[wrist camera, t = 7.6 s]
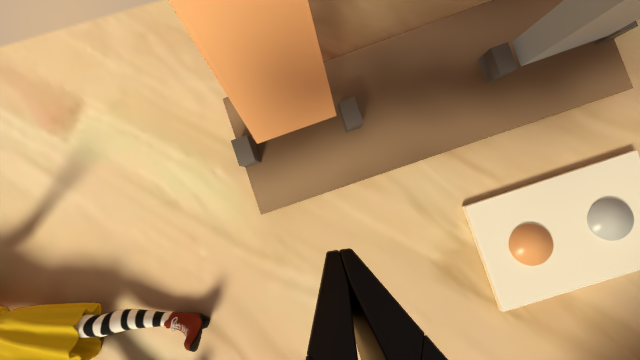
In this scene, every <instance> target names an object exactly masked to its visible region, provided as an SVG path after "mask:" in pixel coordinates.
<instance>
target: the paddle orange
mask: <svg viewBox="0 0 640 360" xmlns="http://www.w3.org/2000/svg"><path fill="white" fill-rule="evenodd" d="M168 1H169V3H170V4H171V6H172V7H173V9H174V11H175V12H176V14H177V15H178V17H179V19H180V20H181V22H182V23H183V25H184V27H185V28H186V30H187V32H188V33H189V35H190V36H191V38H192V40H193V41H194V43H195V44H196V46H197V48H198V49H199V51H200V52H201V54H202V56H203V57H204V59H205V61H206V62H207V64H208V65H209V67H210V69H211V70H212V72H213V73H214V75H215V77H216V78H217V80H218V81H219V83H220V85H221V86H222V88H223V90H224V91H225V93H226V94H227V96H228V98H229V99H230V101H231V102H232V104H233V106H234V107H235V109H236V110H237V112H238V114H239V115H240V117H241V119H242V120H243V122H244V123H245V125H246V127H247V128H248V130H249V131H250V133H251V135H252V136H253V138H254V139H255V141H256V143H257V144H258V143H261V142H264V141H267V140H270V139H272V138H275V137H278V136H281V135H284V134H287V133H289V132H292V131H295V130H298V129H301V128H304V127H306V126H309V125H312V124H315V123H318V122H320V121H323V120H326V119H329V118H332V117H335V116H337V115H336V111H335V107H334V103H333V99H332V95H331V91H330V87H329V83H328V79H327V75H326V71H325V67H324V63H323V59H322V55H321V51H320V47H319V43H318V39H317V35H316V31H315V27H314V23H313V19H312V15H311V11H310V7H309V3H308V0H168Z"/></svg>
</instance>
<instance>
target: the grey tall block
mask: <svg viewBox="0 0 640 360" xmlns="http://www.w3.org/2000/svg"><path fill="white" fill-rule="evenodd" d="M639 18H640V0H563V1H562V2H561V3H560V4H558V5H557V6H556V7H555V8H553V9H552V10H551V11H550V12H549V13H547V14H546V15H545V16H544V17H542V18H541V19H540V20H539V21H537V22H536V23H535V24H534V25H532V26H531V27H530V28H529V29H528V30H526V31H525V32H524V33H523V34H521V35H520V36H519V37H518V38H516V39H515V40H514V41H513V42H512V44H513V46H514V49H515V52H516V54H517V57H518V60H519V62H520V65H521V66H523V65H526V64H529V63H532V62H535V61H538V60H541V59H543V58H546V57H549V56H552V55H555V54H558V53H560V52H563V51H566V50H569V49H572V48H575V47H578V46H580V45H583V44H586V43H589V42H592V41H595V40H597V39H600V38H603V37H606V36H608V35H610V34H612V33H614V32H616V31H618V30H619V29H621V28H623V27H625V26H627V25H629V24H630V23H632V22H634V21H636V20H638V19H639Z"/></svg>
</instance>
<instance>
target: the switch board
mask: <svg viewBox="0 0 640 360" xmlns="http://www.w3.org/2000/svg"><path fill="white" fill-rule="evenodd" d="M562 1H563V0H492V1H489V2H486V3H484V4H481V5H478V6H475V7H473V8H470V9H467V10H464V11H462V12H459V13H456V14H453V15H451V16H448V17H445V18H443V19H440V20H437V21H434V22H432V23H429V24H426V25H423V26H421V27H418V28H415V29H412V30H410V31H407V32H404V33H402V34H399V35H396V36H393V37H391V38H388V39H385V40H382V41H380V42H377V43H374V44H371V45H369V46H366V47H363V48H361V49H358V50H355V51H352V52H350V53H347V54H344V55H341V56H339V57H336V58H333V59H330V60H328V61H325V62H323V63H324V67H325V71H326V75H327V79H328V83H329V87H330V91H331V95H332V99H333V103H334V107H335V111H336V115H337V116H335V117H332V118H329V119H326V120H323V121H320V122H318V123H315V124H312V125H309V126H306V127H304V128H301V129H298V130H295V131H292V132H289V133H287V134H284V135H281V136H278V137H275V138H272V139H270V140H267V141H264V142H261V143H258V144H257V143H256V141H255V139H254V138H253V136H252V135H251V133H250V131H249V130H248V128H247V127H246V125H245V123H244V122H243V120H242V119H241V117H240V115H239V114H238V112H237V110H236V109H235V107H234V106H233V104H232V102H231V101H230V99H229V98H228V97H227V98H224V99H223V101H224V104H225V107H226V110H227V113H228V116H229V119H230V122H231V125H232V128H233V131H234V134H235V137H236V139H234V140H232V141H231V142H232V145H233V148H234V151H235V154H236V157H237V160H238V163H239V166H243V167H245V168H246V171H247V174H248V177H249V180H250V183H251V186H252V189H253V192H254V195H255V198H256V201H257V204H258V207H259V210H260V213H261V214H264V213H267V212H270V211H273V210H276V209H279V208H282V207H285V206H288V205H291V204H294V203H297V202H300V201H302V200H305V199H308V198H311V197H314V196H317V195H320V194H323V193H326V192H329V191H332V190H335V189H338V188H341V187H344V186H347V185H349V184H352V183H355V182H358V181H361V180H364V179H367V178H370V177H373V176H376V175H379V174H382V173H385V172H388V171H391V170H394V169H396V168H399V167H402V166H405V165H408V164H411V163H414V162H417V161H420V160H423V159H426V158H429V157H432V156H435V155H438V154H441V153H443V152H446V151H449V150H452V149H455V148H458V147H461V146H464V145H467V144H470V143H473V142H476V141H479V140H482V139H485V138H488V137H490V136H493V135H496V134H499V133H502V132H505V131H508V130H511V129H514V128H517V127H520V126H523V125H526V124H529V123H532V122H535V121H537V120H540V119H543V118H546V117H549V116H552V115H555V114H558V113H561V112H564V111H567V110H570V109H573V108H576V107H579V106H582V105H584V104H587V103H590V102H593V101H596V100H599V99H602V98H605V97H608V96H611V95H614V94H617V93H620V92H623V91H626V90H629V89H631V88H633V87H632V84H631V82H630V79H629V77H628V74H627V72H626V69H625V66H624V64H623V61H622V59H621V56H620V54H619V51H618V48H617V46H616V43H615V41H614V38H616V37H618V36H619V35H621V34H623V33H625V32H627V31H629V30H631V29H633V28H635V27H637V26H638V25H637V23H636V21H634V22H632V23H630V24H629V25H627V26H625V27H623V28H621V29H619V30H618V31H616V32H614V33H612V34H610V35H608V36H606V37H603V38H600V39H597V40H595V41H592V42H589V43H586V44H583V45H580V46H578V47H575V48H572V49H569V50H566V51H563V52H560V53H558V54H555V55H552V56H549V57H546V58H543V59H541V60H538V61H535V62H532V63H529V64H526V65H523V66H521V65H520V62H519V60H518V57H517V54H516V52H515V49H514V46H513V44H512V42H513V41H514V40H515V39H516V38H518V37H519V36H520V35H521V34H523V33H524V32H525V31H526V30H528V29H529V28H530V27H531V26H532V25H534V24H535V23H536V22H537V21H539V20H540V19H541V18H542V17H544V16H545V15H546V14H547V13H549V12H550V11H551V10H552V9H553V8H555V7H556V6H557V5H558V4H560V3H561V2H562Z"/></svg>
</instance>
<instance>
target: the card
mask: <svg viewBox="0 0 640 360" xmlns="http://www.w3.org/2000/svg"><path fill="white" fill-rule="evenodd" d="M462 208H463V211H464V213H465V216H466V219H467V222H468V225H469V227H470V230H471V233H472V236H473V238H474V241H475V244H476V247H477V250H478V252H479V255H480V258H481V261H482V264H483V266H484V269H485V272H486V275H487V277H488V280H489V283H490V286H491V289H492V291H493V294H494V297H495V300H496V302H497V305H498V308H499V310H501V311H502V312H505V311H508V310H511V309H515V308H518V307H521V306H524V305H528V304H531V303H534V302H537V301H541V300H544V299H547V298H550V297H554V296H557V295H560V294H563V293H567V292H570V291H573V290H576V289H580V288H583V287H586V286H590V285H593V284H596V283H599V282H603V281H606V280H609V279H612V278H616V277H619V276H622V275H625V274H629V273H632V272H635V271H638V270H640V157H639V154H638V152H637V150H635V151H629V152H626V153H623V154H620V155H617V156H614V157H611V158H608V159H604V160H601V161H598V162H595V163H592V164H589V165H586V166H583V167H580V168H577V169H574V170H571V171H568V172H565V173H562V174H559V175H556V176H553V177H550V178H547V179H544V180H541V181H538V182H535V183H532V184H529V185H525V186H522V187H519V188H516V189H513V190H510V191H507V192H504V193H501V194H498V195H495V196H492V197H489V198H486V199H483V200H480V201H477V202H474V203H471V204H468V205H465V206H462Z"/></svg>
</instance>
